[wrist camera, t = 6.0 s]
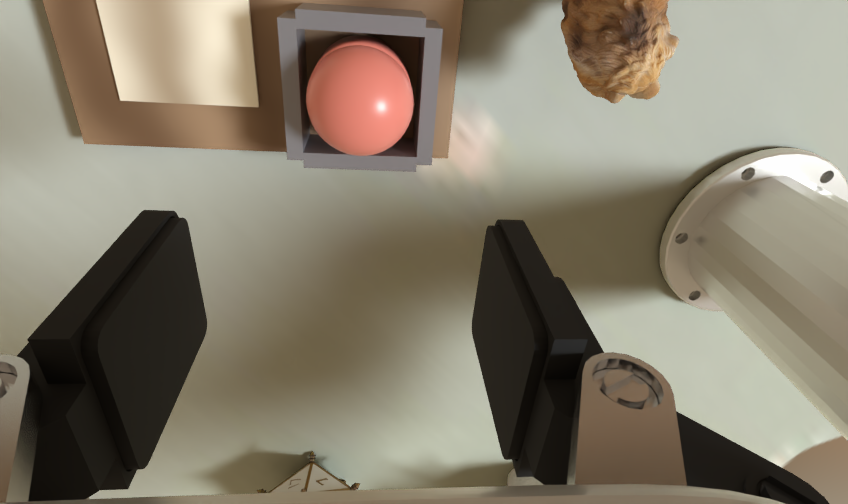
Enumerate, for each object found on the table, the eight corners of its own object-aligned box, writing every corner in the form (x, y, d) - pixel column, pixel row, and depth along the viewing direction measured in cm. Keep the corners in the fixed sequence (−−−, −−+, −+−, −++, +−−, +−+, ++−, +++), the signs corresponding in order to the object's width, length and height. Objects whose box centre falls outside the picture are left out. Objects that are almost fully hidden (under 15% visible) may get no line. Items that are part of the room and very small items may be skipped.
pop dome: (412, 38, 25) (421, 59, 20) (407, 135, 27) (413, 174, 23) (311, 31, 24) (295, 51, 20) (315, 131, 27) (302, 170, 22)
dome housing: (437, 12, 25) (443, 19, 22) (426, 152, 29) (430, 172, 26) (286, 1, 24) (276, 7, 22) (296, 147, 28) (288, 167, 25)
